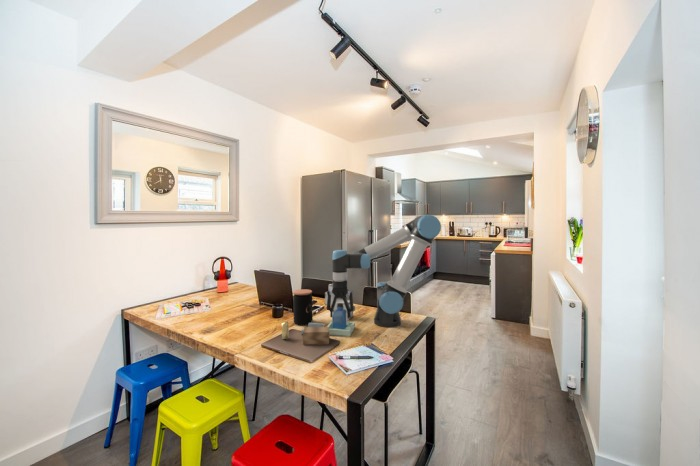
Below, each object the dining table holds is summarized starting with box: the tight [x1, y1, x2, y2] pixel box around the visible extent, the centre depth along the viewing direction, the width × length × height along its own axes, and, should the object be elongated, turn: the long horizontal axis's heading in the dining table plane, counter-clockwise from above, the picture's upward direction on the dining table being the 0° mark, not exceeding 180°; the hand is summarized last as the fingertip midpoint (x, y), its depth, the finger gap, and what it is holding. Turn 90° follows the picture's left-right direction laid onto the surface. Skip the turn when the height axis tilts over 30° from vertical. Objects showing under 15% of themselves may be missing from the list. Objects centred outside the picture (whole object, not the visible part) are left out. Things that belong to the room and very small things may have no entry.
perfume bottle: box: [333, 303, 348, 329], centre depth 153 cm, size 6×6×12 cm
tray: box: [326, 320, 356, 338], centre depth 153 cm, size 13×13×3 cm
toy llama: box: [324, 282, 356, 321], centre depth 176 cm, size 8×18×20 cm, turn 66°
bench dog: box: [281, 321, 290, 340], centre depth 144 cm, size 3×3×8 cm
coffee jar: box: [292, 288, 313, 327], centre depth 167 cm, size 11×11×18 cm
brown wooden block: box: [302, 326, 330, 345], centre depth 140 cm, size 12×7×6 cm, turn 93°
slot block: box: [300, 322, 325, 335], centre depth 153 cm, size 8×12×2 cm, turn 168°
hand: (340, 323), depth 153 cm, fingers closed on perfume bottle, 7 cm apart
